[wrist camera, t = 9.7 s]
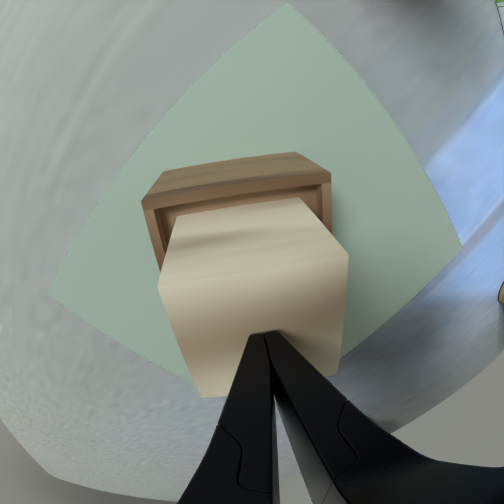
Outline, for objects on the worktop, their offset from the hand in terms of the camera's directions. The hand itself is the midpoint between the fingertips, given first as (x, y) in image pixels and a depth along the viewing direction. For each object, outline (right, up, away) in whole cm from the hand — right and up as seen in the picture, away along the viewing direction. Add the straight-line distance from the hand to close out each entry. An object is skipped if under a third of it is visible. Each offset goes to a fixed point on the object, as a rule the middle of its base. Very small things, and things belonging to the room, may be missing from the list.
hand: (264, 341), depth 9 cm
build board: (+1, +2, +11) cm, 11 cm away
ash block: (-1, +2, +4) cm, 5 cm away
